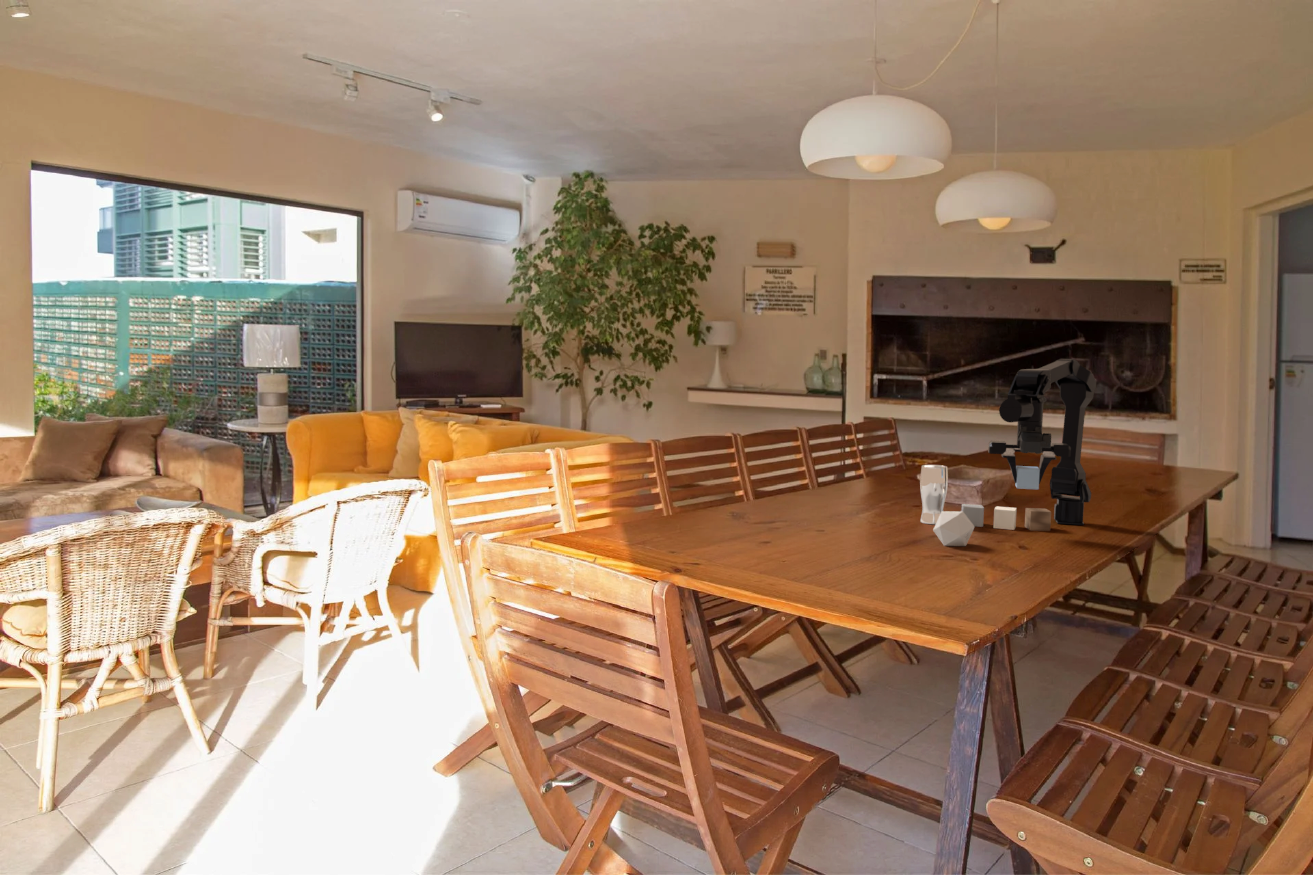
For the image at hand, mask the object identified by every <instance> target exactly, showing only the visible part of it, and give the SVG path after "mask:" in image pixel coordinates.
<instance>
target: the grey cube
mask: <svg viewBox="0 0 1313 875" xmlns="http://www.w3.org/2000/svg"><path fill="white" fill-rule="evenodd" d="M961 511H963V512H964V513H965V515H966V516H967V517H968V519H969V520H970V521H971V523H972V524H973V525H974V527H981V528H982V527H984V516H985V513H984V512H985V507H984V506H983V505H982V504H968V503H962V504H961Z"/></svg>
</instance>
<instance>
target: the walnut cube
mask: <svg viewBox="0 0 1313 875" xmlns="http://www.w3.org/2000/svg"><path fill="white" fill-rule="evenodd" d="M1024 511H1025V512H1024V528H1026V529H1027V530H1029V531H1038V532H1039V531H1041V532H1050V531H1051V523H1052V522H1051V521H1052V511H1051V510H1049V509H1047V508H1039V507H1037V508H1036V507H1035V508H1034V507H1025V510H1024Z"/></svg>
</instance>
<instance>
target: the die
mask: <svg viewBox="0 0 1313 875" xmlns="http://www.w3.org/2000/svg"><path fill="white" fill-rule="evenodd" d="M974 530H975V526H974V525H973V524H972V523H971V521H970V520H969V519H968V517H967V516H966V515H965V513H964V512H963V511H962V510H960V511H954V510H953V511H948V510H945V511H944V510H943V511H942V512H941V514H940V516H939V518H938V520H937V523H936V525H934V527H933V529H932V531H933V533H934V534H935V535H936V536H937V538H938V540H939V541H940V542H941V543H942V545H943V547H967V545H968V542H969V540H970V538H971V536H972V534H973V531H974Z"/></svg>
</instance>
